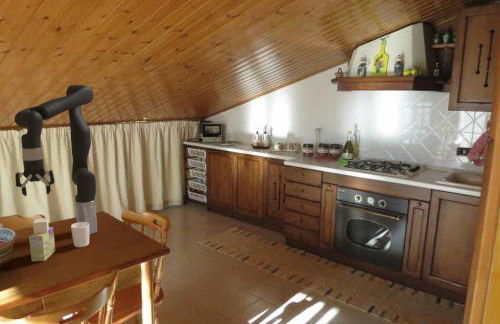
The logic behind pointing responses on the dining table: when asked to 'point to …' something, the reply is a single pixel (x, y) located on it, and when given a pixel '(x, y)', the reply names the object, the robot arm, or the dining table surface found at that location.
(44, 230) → the cube
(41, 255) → the box
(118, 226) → the dining table surface
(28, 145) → the robot arm
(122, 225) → the dining table surface
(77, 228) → the white cup
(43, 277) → the dining table surface
